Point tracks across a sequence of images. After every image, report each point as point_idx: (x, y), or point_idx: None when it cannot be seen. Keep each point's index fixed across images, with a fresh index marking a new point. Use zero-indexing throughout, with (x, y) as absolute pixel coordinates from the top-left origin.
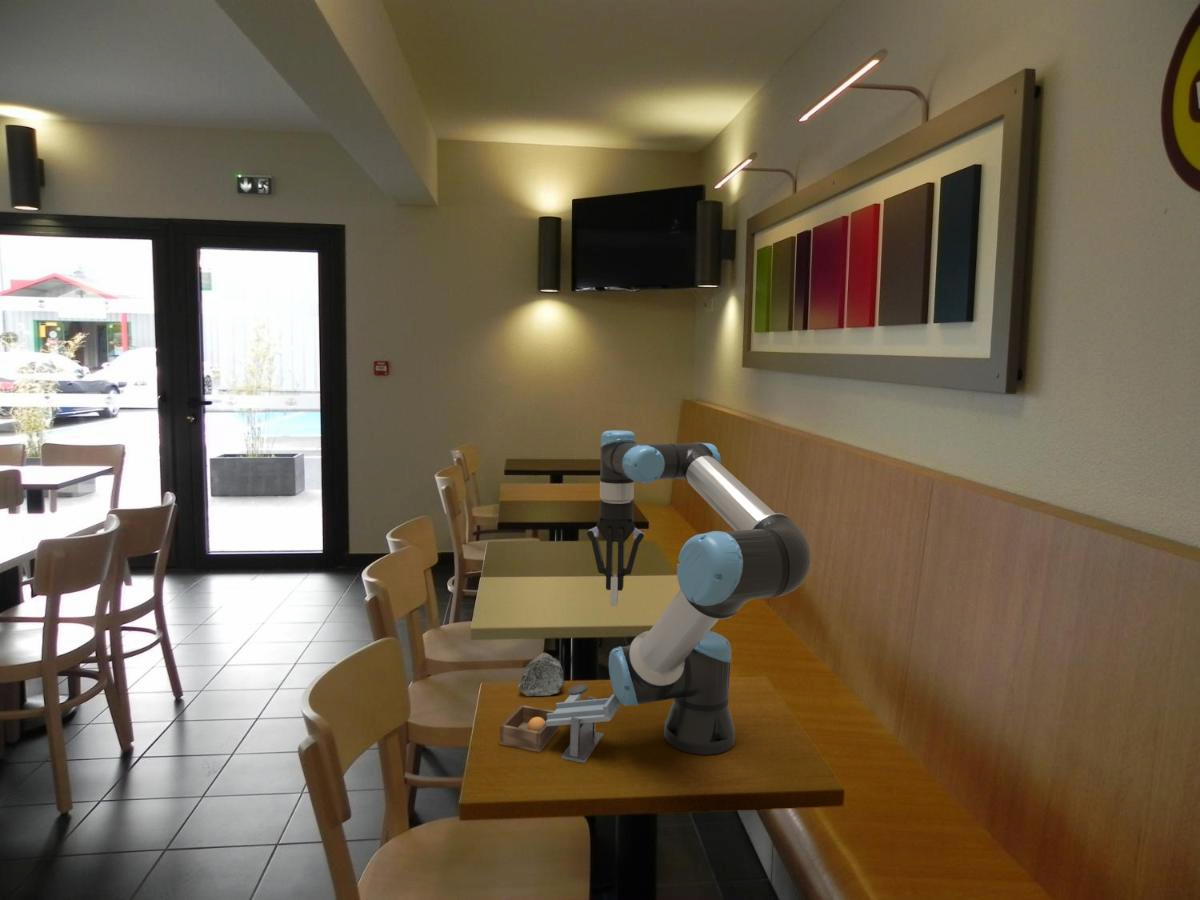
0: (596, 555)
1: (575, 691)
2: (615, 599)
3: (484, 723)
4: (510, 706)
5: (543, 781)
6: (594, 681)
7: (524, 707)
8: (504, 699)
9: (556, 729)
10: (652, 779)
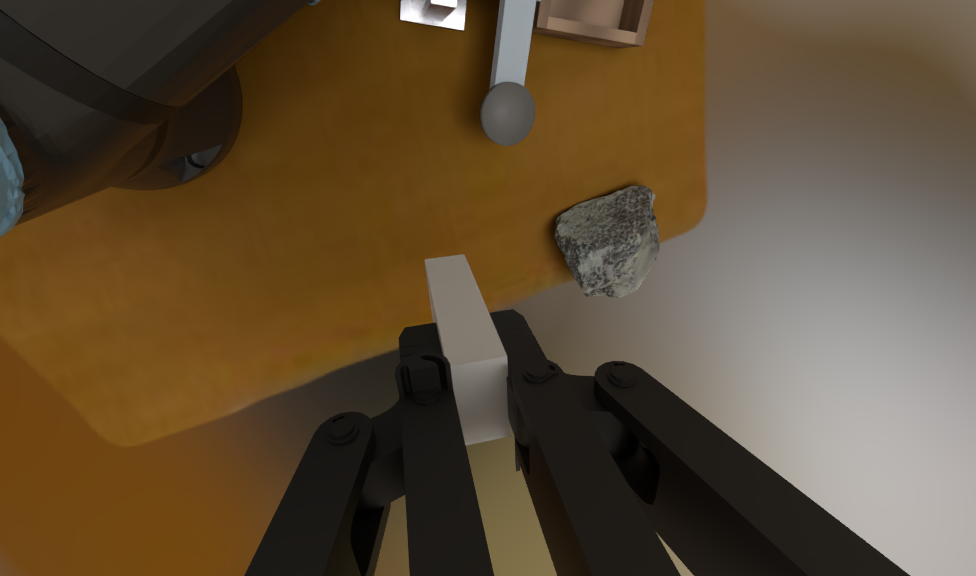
0: (775, 497)
1: (511, 89)
2: (438, 275)
3: (702, 15)
4: (653, 127)
5: None
6: (489, 309)
7: (631, 32)
8: (670, 159)
9: None
10: None
